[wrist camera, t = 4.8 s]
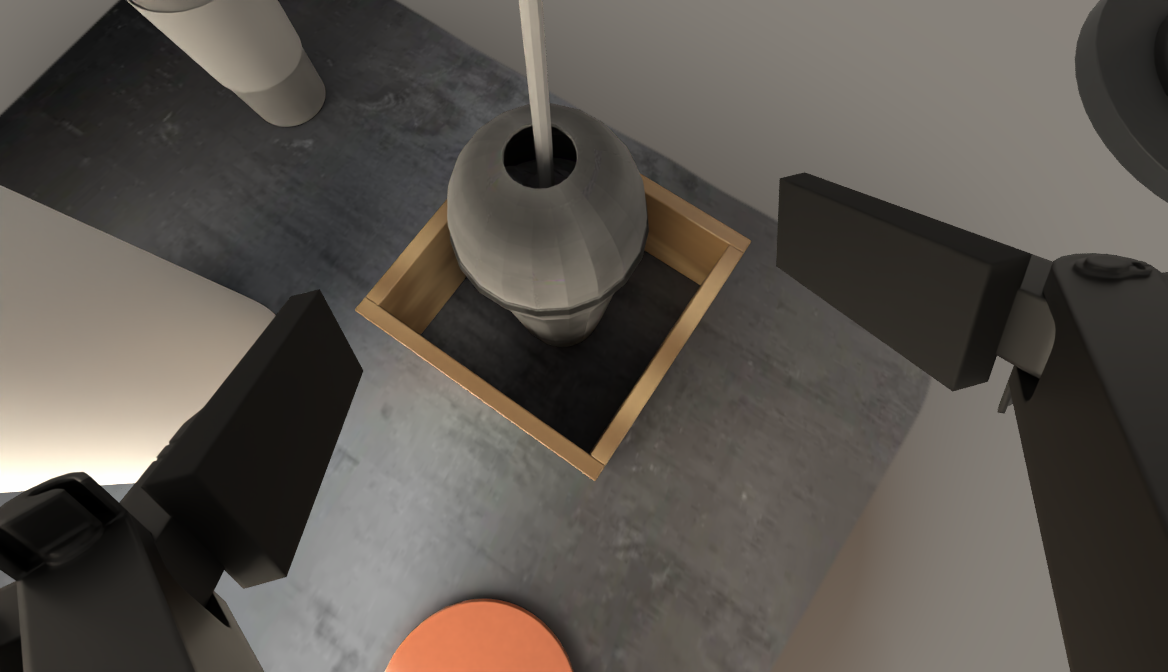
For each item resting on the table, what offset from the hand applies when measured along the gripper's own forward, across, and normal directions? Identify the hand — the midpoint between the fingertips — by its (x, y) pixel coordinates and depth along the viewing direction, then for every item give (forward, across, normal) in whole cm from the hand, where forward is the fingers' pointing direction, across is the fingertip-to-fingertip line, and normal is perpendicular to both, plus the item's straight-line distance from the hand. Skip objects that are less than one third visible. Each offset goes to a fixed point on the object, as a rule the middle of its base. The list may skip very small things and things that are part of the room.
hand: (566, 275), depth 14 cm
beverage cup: (+13, 0, -8) cm, 15 cm away
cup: (+26, -14, +6) cm, 30 cm away
